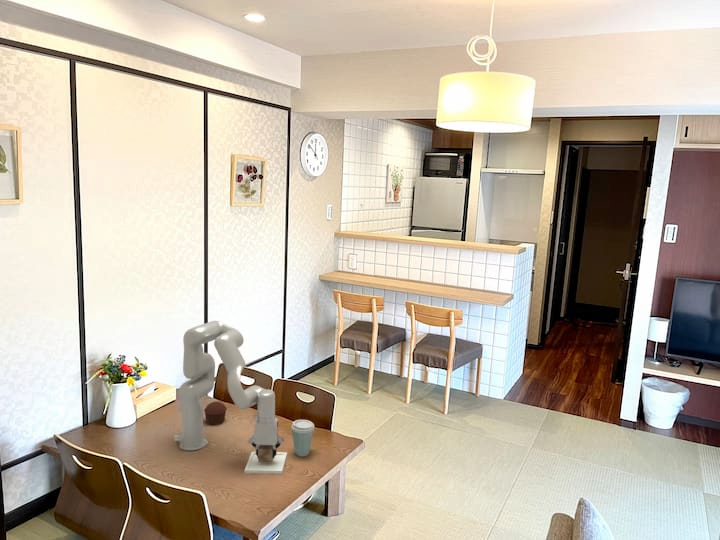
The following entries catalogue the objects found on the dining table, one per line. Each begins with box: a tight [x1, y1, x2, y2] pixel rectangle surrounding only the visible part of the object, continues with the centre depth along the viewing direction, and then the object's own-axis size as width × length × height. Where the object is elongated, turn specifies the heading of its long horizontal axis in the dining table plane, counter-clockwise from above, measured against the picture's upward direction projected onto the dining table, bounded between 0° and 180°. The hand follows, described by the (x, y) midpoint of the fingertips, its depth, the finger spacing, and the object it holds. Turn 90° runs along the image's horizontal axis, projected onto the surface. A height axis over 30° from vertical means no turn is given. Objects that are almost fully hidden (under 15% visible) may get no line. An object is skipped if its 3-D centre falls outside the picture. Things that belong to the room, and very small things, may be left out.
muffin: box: [203, 401, 228, 426], centre depth 279 cm, size 12×11×10 cm
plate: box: [244, 451, 288, 475], centre depth 239 cm, size 16×16×1 cm
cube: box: [258, 445, 273, 463], centre depth 238 cm, size 6×6×6 cm
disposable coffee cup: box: [290, 419, 315, 457], centre depth 248 cm, size 11×11×15 cm
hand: (266, 456), depth 239 cm, fingers closed on cube, 6 cm apart
